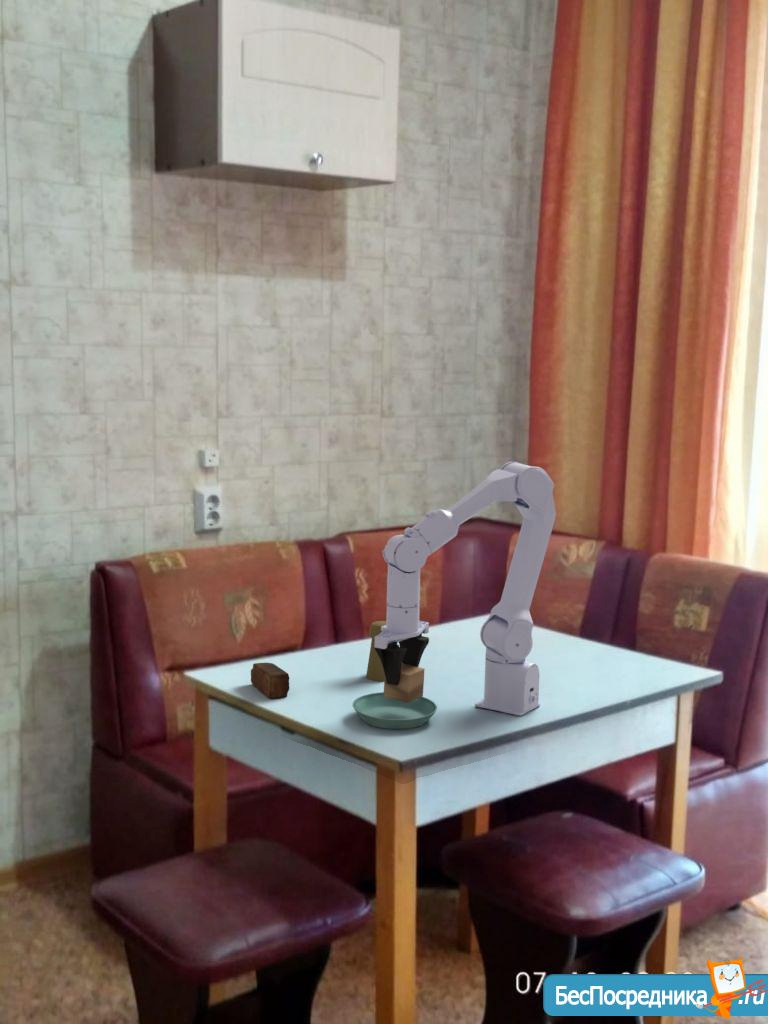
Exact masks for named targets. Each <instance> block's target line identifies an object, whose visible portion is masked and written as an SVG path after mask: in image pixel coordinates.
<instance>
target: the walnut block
mask: <svg viewBox="0 0 768 1024" xmlns="http://www.w3.org/2000/svg"><path fill="white" fill-rule="evenodd" d="M383 684H384V686H383V692H384V697H387V698H391V699H394V700H398V701H402V702H406V703H409V702H411V701H413V700H415V699H418V698H420V697H424V685H425V668H423V667H419V666H418V667H415V666H411V665H407V664H403V663H402V666H401V674H400V680H399V684H398V685H391V684H387V682H386V678H385V680H384V681H383Z"/></svg>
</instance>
